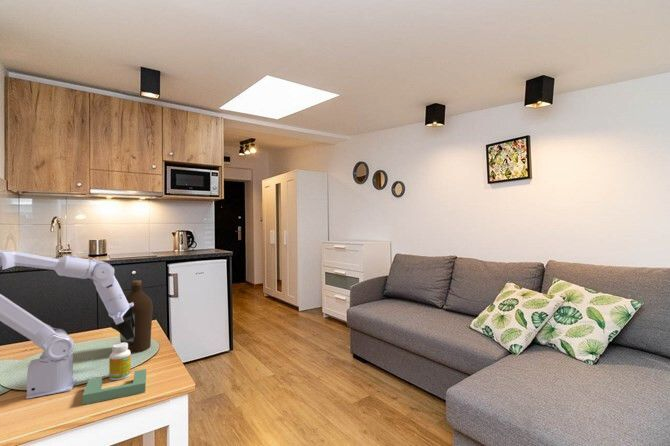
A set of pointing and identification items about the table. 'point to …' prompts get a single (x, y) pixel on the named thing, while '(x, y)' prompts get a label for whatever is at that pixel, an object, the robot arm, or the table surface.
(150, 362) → the table surface
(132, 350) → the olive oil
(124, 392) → the green u-shaped block
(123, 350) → the supplement bottle
